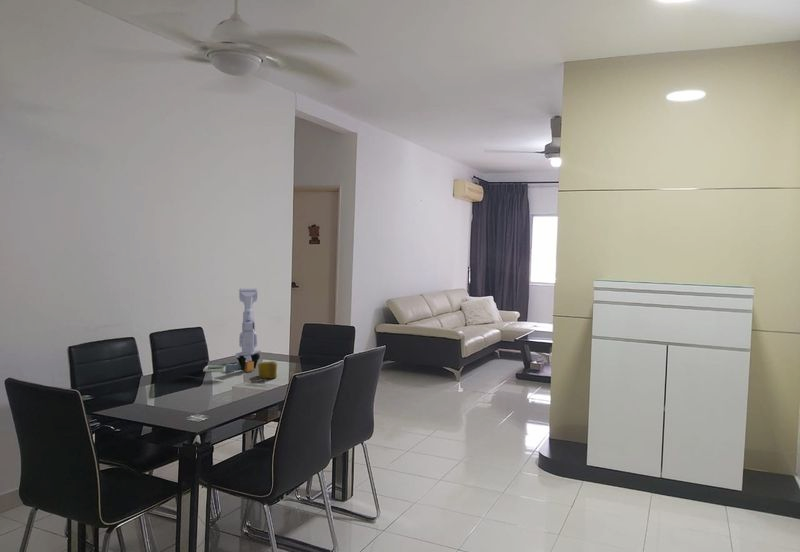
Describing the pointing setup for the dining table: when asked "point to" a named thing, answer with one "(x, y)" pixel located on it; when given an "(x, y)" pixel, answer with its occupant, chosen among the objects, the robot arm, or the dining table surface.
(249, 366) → the block
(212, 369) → the tray
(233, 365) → the crank
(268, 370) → the mug
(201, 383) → the dining table surface
